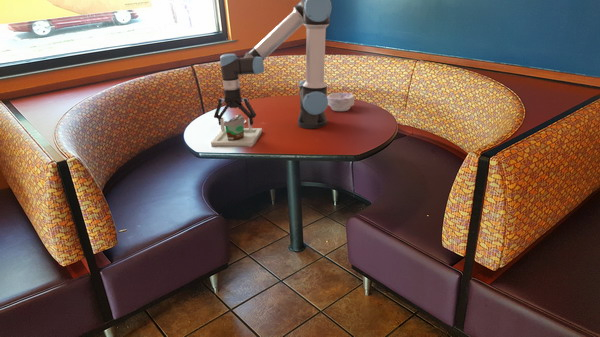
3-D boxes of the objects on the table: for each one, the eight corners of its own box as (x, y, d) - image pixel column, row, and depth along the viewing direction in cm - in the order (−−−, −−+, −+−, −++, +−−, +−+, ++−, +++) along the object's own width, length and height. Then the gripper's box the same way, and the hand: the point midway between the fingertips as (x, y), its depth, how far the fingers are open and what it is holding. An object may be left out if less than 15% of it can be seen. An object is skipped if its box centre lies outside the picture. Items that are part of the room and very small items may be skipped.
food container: (236, 143, 213) (234, 123, 209) (226, 141, 216) (223, 121, 212) (251, 134, 223) (249, 115, 218) (241, 133, 225) (239, 114, 221)
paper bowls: (354, 105, 261) (354, 91, 258) (353, 113, 248) (353, 99, 244) (328, 105, 264) (328, 92, 260) (326, 113, 250) (325, 99, 247)
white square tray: (262, 131, 227) (261, 128, 226) (252, 146, 209) (252, 142, 208) (224, 131, 230) (223, 128, 230) (211, 146, 212) (210, 142, 212)
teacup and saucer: (241, 126, 239) (240, 118, 237) (228, 125, 242) (227, 117, 240) (248, 120, 246) (248, 113, 245) (235, 120, 249) (235, 112, 247)
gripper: (203, 90, 208) (209, 133, 217) (256, 89, 204) (260, 134, 213) (208, 86, 215) (214, 128, 224) (259, 85, 211) (263, 128, 220)
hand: (236, 131), depth 218 cm, fingers open, 13 cm apart
